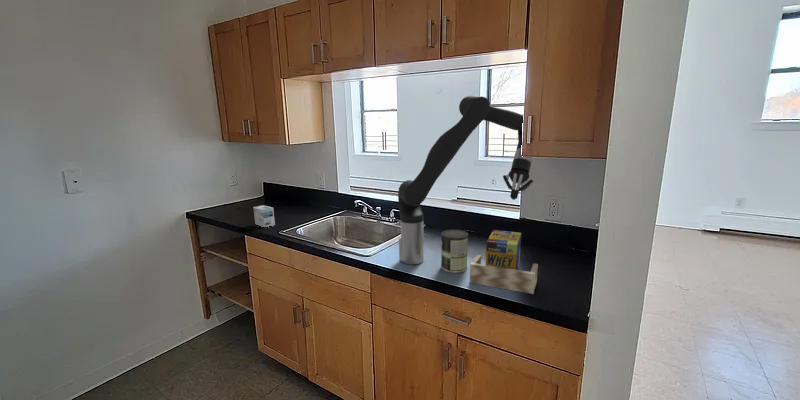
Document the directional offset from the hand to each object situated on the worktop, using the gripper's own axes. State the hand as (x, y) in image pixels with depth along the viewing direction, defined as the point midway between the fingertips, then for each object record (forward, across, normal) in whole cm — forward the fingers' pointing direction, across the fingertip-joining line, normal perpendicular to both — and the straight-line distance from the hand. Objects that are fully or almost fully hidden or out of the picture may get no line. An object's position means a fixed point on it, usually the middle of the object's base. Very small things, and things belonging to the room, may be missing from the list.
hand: (513, 199), depth 153 cm
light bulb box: (+39, -130, +11) cm, 136 cm away
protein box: (+34, +4, -12) cm, 36 cm away
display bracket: (+36, +5, -16) cm, 39 cm away
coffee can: (+35, -15, -10) cm, 39 cm away
